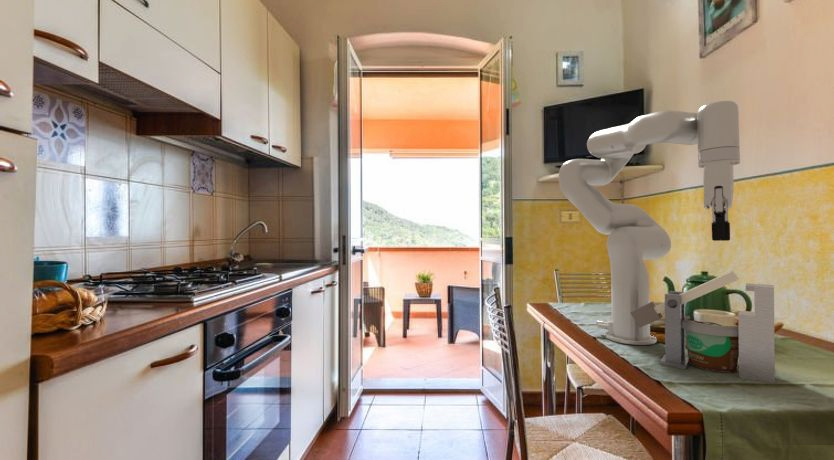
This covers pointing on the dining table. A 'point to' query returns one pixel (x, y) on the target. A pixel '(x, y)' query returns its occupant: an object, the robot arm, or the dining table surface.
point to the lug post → (758, 336)
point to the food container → (712, 345)
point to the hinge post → (674, 332)
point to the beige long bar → (653, 312)
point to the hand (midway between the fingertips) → (721, 240)
